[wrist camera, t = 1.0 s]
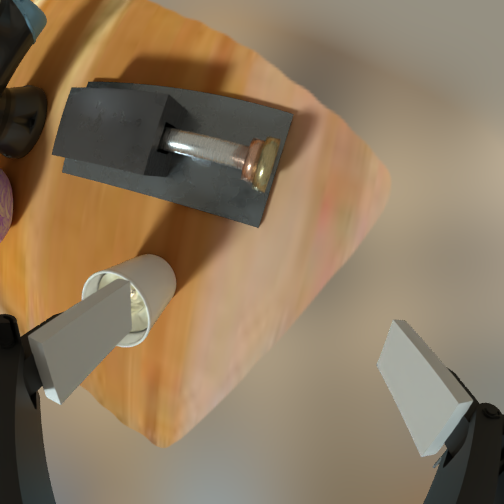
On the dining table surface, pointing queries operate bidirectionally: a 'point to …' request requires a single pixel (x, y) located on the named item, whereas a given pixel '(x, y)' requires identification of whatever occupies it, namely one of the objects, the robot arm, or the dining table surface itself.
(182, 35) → the dining table surface
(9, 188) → the bowl of food
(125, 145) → the bearing block
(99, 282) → the candle holder
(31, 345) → the robot arm
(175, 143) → the shaft
